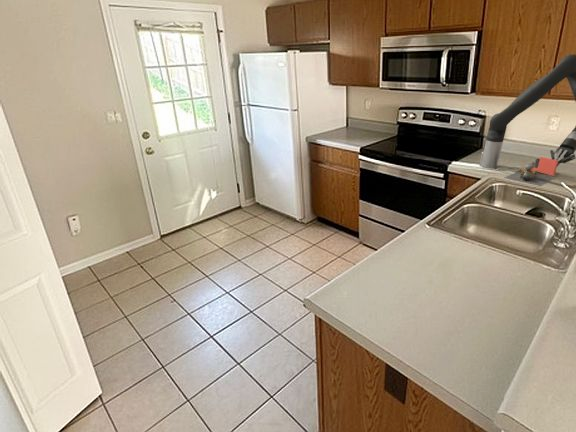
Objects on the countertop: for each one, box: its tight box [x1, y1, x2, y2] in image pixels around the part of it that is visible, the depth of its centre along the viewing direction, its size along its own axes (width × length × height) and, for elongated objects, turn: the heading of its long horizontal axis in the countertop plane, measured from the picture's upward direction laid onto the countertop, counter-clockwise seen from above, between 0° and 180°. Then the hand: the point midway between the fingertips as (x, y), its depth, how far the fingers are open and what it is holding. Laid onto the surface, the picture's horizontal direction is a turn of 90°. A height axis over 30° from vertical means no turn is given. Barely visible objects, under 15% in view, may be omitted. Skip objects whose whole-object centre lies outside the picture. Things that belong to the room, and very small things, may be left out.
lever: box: [524, 156, 559, 177], centre depth 202 cm, size 16×4×8 cm, turn 24°
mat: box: [503, 170, 555, 187], centre depth 210 cm, size 19×21×1 cm
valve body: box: [520, 167, 536, 181], centre depth 210 cm, size 6×16×5 cm, turn 149°
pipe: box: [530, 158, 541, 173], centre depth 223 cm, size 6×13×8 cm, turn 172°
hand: (552, 167), depth 198 cm, fingers closed
